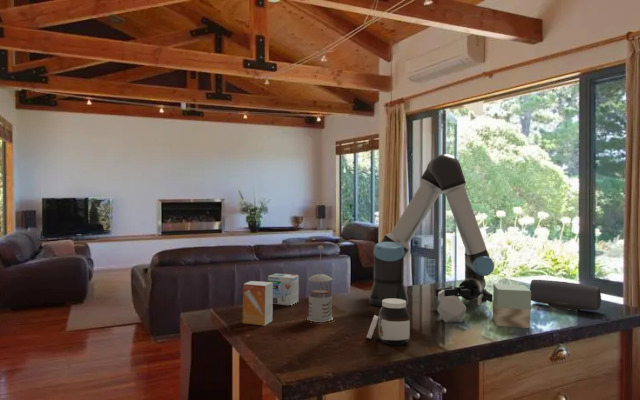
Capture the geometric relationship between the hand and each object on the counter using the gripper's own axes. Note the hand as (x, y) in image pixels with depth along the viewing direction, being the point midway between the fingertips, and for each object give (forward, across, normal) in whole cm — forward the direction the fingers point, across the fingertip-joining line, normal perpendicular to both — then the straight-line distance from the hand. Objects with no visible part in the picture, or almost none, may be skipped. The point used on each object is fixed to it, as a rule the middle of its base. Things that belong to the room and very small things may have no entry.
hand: (458, 299), depth 161 cm
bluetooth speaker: (-32, -32, -6) cm, 46 cm away
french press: (+27, +40, -6) cm, 49 cm away
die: (+8, +1, -6) cm, 10 cm away
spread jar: (+39, +12, -6) cm, 41 cm away
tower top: (0, -17, 0) cm, 17 cm away
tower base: (0, -17, -6) cm, 18 cm away
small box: (+42, +56, -6) cm, 70 cm away
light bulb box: (+14, +64, -6) cm, 66 cm away
